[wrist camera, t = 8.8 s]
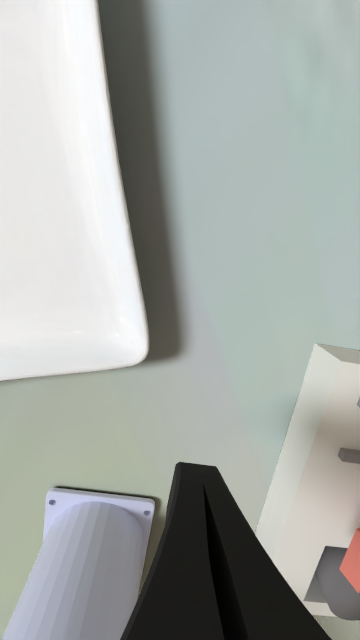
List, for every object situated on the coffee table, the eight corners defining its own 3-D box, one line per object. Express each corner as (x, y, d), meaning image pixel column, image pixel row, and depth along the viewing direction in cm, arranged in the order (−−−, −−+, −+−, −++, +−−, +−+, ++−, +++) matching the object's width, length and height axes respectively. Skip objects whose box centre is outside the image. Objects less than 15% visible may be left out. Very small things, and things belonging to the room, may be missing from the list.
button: (350, 571, 23) (379, 622, 20) (299, 566, 23) (319, 617, 20) (369, 530, 22) (402, 577, 19) (315, 524, 22) (339, 571, 18)
